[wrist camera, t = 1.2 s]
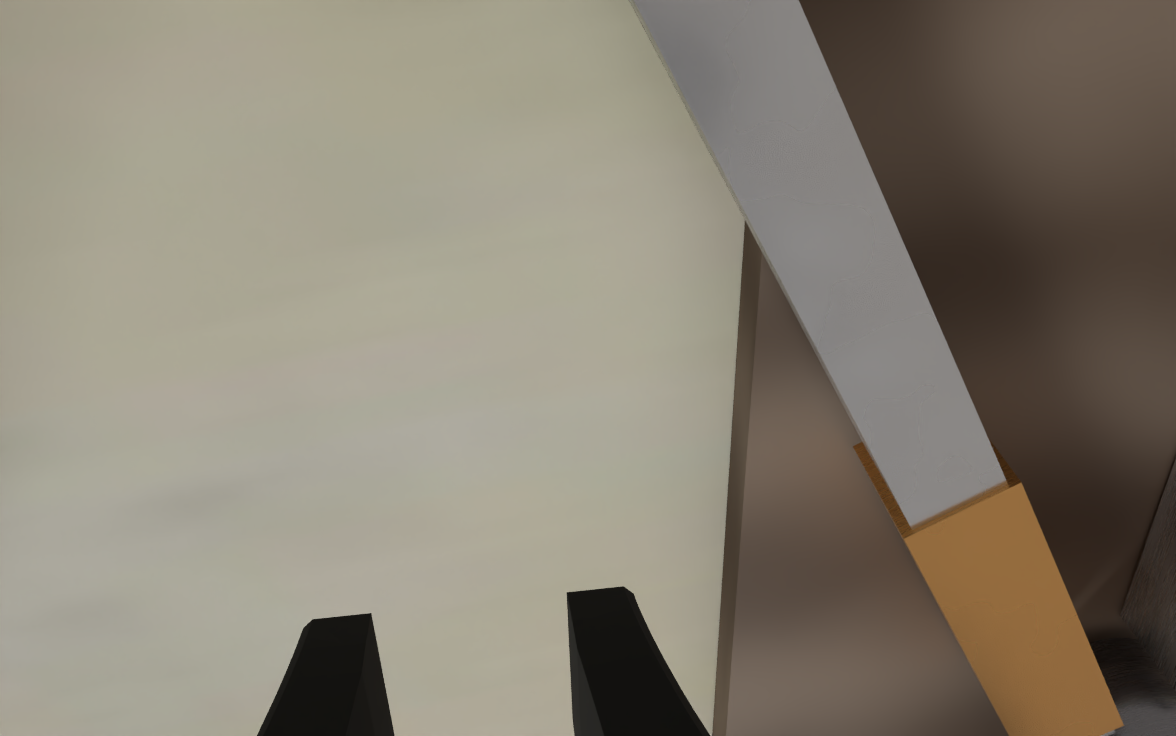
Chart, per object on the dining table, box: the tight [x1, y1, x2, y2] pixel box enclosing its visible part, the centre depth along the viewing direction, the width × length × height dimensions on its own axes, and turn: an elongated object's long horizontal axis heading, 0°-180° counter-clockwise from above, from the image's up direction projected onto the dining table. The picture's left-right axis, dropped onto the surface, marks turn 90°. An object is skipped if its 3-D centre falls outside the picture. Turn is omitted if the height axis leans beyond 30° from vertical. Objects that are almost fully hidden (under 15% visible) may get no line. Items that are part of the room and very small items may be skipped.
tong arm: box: [629, 0, 1176, 736], centre depth 19 cm, size 26×4×3 cm, turn 29°
